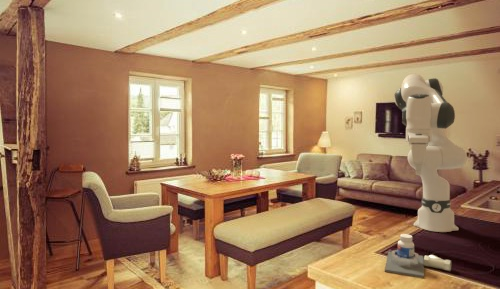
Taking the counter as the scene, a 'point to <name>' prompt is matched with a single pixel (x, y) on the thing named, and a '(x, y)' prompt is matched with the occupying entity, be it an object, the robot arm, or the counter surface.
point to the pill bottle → (405, 246)
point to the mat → (412, 271)
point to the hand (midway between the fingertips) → (418, 173)
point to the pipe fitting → (437, 262)
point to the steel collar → (404, 260)
